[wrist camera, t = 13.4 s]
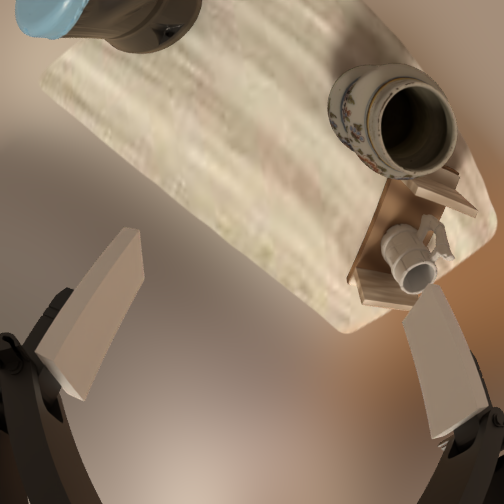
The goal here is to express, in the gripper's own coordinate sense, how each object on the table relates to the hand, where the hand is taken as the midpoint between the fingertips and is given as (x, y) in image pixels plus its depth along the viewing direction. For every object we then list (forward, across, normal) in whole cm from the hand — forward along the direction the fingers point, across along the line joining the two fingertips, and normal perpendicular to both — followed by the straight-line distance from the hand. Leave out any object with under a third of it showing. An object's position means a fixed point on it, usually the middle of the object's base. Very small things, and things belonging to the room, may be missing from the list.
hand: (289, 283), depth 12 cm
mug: (+29, +23, -10) cm, 39 cm away
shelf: (+31, +23, -10) cm, 40 cm away
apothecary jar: (+31, +10, +7) cm, 33 cm away
